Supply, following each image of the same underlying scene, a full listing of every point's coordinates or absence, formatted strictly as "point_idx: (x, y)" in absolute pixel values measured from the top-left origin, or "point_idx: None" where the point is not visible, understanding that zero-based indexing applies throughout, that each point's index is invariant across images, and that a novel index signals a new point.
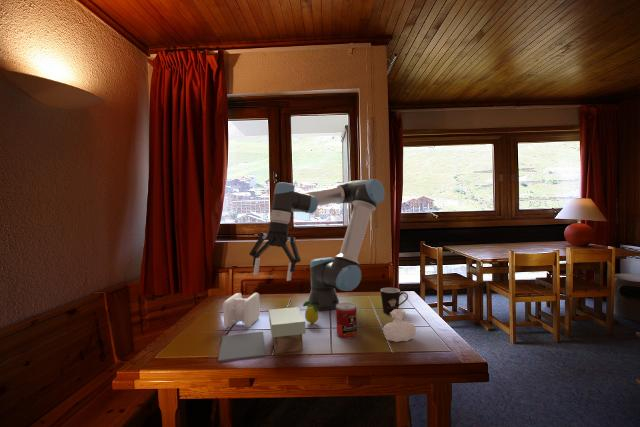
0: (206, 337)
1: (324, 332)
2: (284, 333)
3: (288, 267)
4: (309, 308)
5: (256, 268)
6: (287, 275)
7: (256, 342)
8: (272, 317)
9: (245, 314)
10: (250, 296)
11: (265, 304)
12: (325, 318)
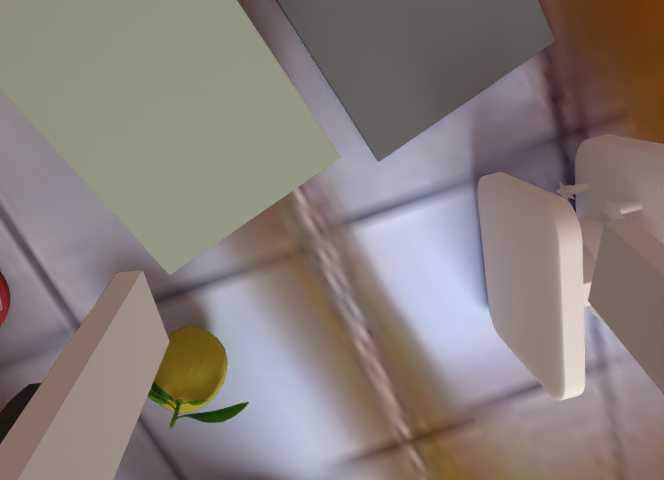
0: (634, 13)
1: (78, 270)
2: None
3: (52, 410)
4: (183, 376)
5: (661, 292)
6: (110, 312)
7: (337, 20)
8: (220, 5)
9: (521, 185)
10: (579, 311)
11: (539, 467)
12: (169, 420)
